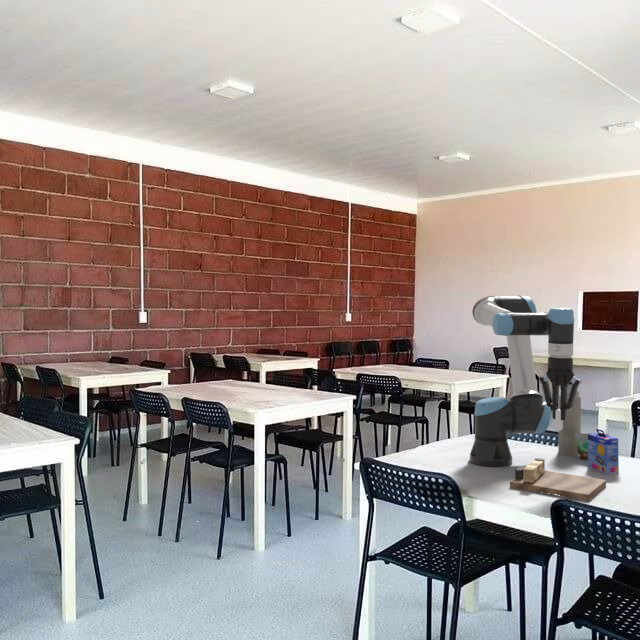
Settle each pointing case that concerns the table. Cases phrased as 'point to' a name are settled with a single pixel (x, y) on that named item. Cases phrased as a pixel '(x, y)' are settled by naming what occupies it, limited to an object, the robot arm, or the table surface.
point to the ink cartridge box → (603, 453)
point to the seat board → (560, 484)
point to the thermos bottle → (570, 426)
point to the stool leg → (534, 470)
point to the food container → (582, 445)
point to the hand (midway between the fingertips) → (558, 429)
